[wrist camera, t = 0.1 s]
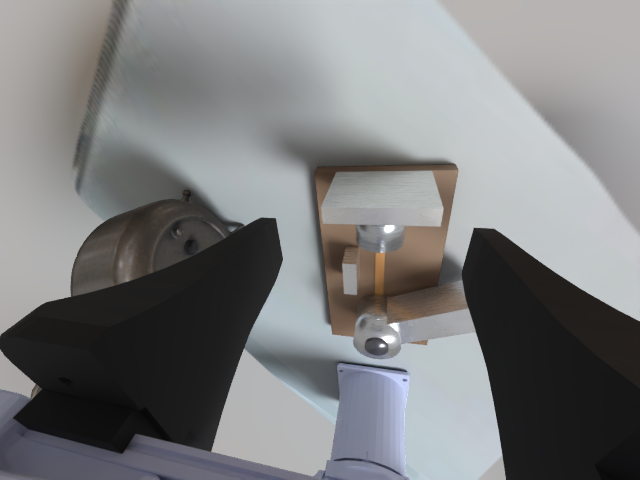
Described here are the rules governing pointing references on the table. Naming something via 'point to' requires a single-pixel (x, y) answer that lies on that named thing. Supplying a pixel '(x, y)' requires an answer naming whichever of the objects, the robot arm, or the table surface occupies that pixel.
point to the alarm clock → (143, 244)
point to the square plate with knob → (380, 211)
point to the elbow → (410, 319)
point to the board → (383, 268)
